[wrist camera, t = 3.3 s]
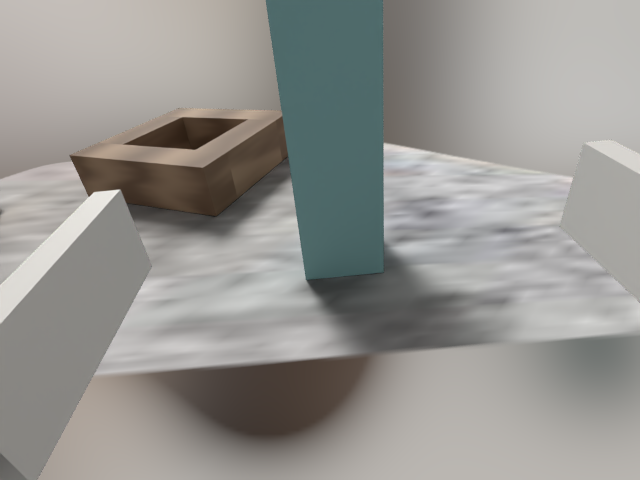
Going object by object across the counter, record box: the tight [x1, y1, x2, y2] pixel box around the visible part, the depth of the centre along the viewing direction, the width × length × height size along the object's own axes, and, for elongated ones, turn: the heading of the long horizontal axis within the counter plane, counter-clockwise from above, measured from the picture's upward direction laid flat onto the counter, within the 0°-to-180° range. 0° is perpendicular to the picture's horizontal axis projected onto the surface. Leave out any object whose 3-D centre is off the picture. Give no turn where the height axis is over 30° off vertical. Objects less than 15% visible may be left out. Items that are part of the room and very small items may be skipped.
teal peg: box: [266, 0, 384, 280], centre depth 21 cm, size 4×4×14 cm
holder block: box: [70, 108, 288, 216], centre depth 37 cm, size 14×14×4 cm
